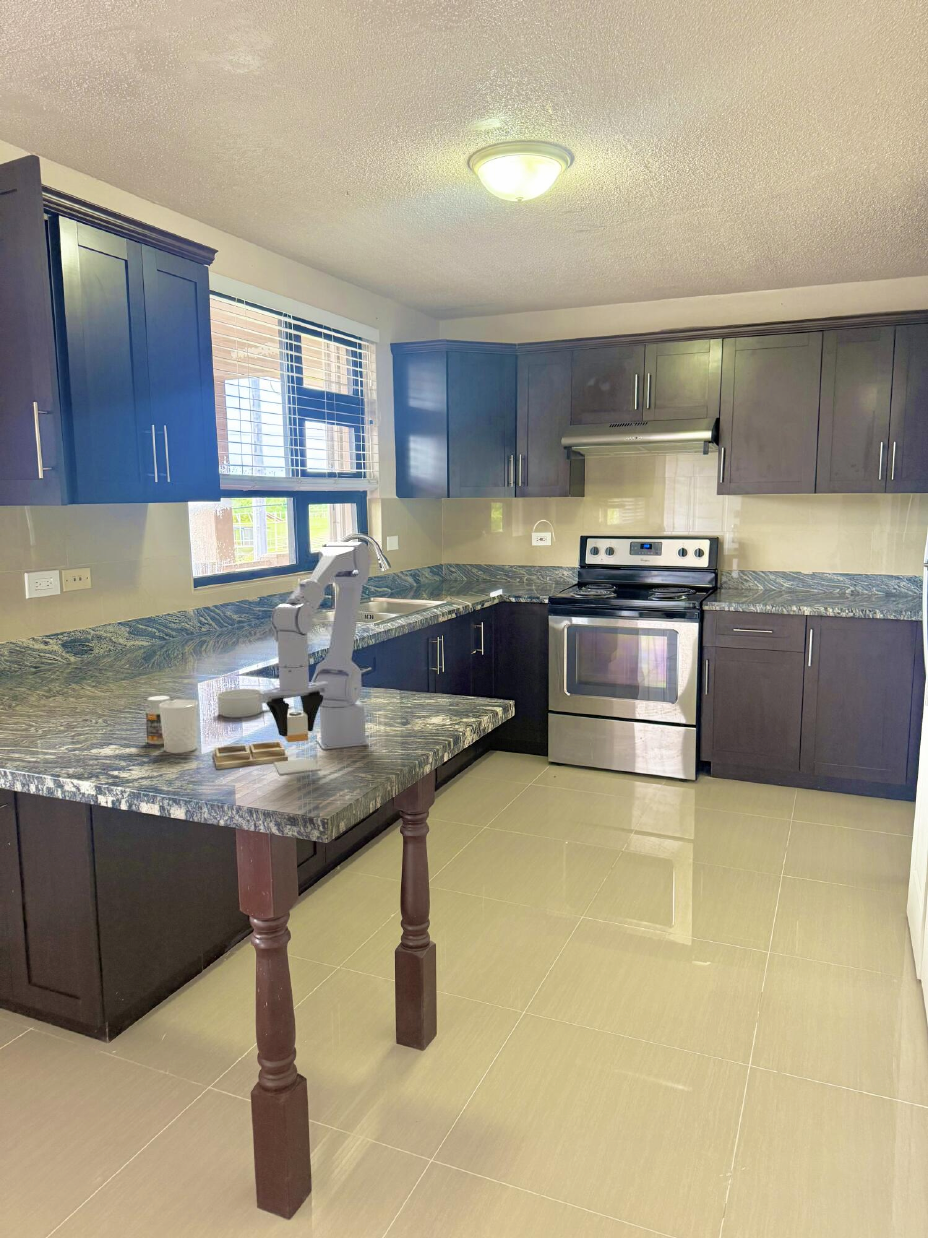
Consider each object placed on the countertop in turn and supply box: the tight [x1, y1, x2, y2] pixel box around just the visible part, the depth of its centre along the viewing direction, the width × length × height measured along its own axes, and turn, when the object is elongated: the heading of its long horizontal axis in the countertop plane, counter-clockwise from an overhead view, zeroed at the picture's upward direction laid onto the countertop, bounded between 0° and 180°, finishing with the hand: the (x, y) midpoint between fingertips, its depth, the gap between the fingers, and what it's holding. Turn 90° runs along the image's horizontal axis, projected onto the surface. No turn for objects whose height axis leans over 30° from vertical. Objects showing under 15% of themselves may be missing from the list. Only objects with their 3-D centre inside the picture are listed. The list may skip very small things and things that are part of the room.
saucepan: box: [216, 688, 263, 719], centre depth 214 cm, size 12×20×6 cm, turn 126°
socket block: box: [212, 740, 289, 770], centre depth 173 cm, size 14×10×2 cm
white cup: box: [159, 699, 199, 754], centre depth 180 cm, size 8×8×10 cm
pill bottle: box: [145, 695, 171, 745], centre depth 186 cm, size 6×6×10 cm
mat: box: [273, 757, 322, 776], centre depth 167 cm, size 8×8×1 cm
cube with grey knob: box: [284, 710, 309, 743], centre depth 166 cm, size 4×4×5 cm
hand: (296, 732), depth 166 cm, fingers closed on cube with grey knob, 5 cm apart
